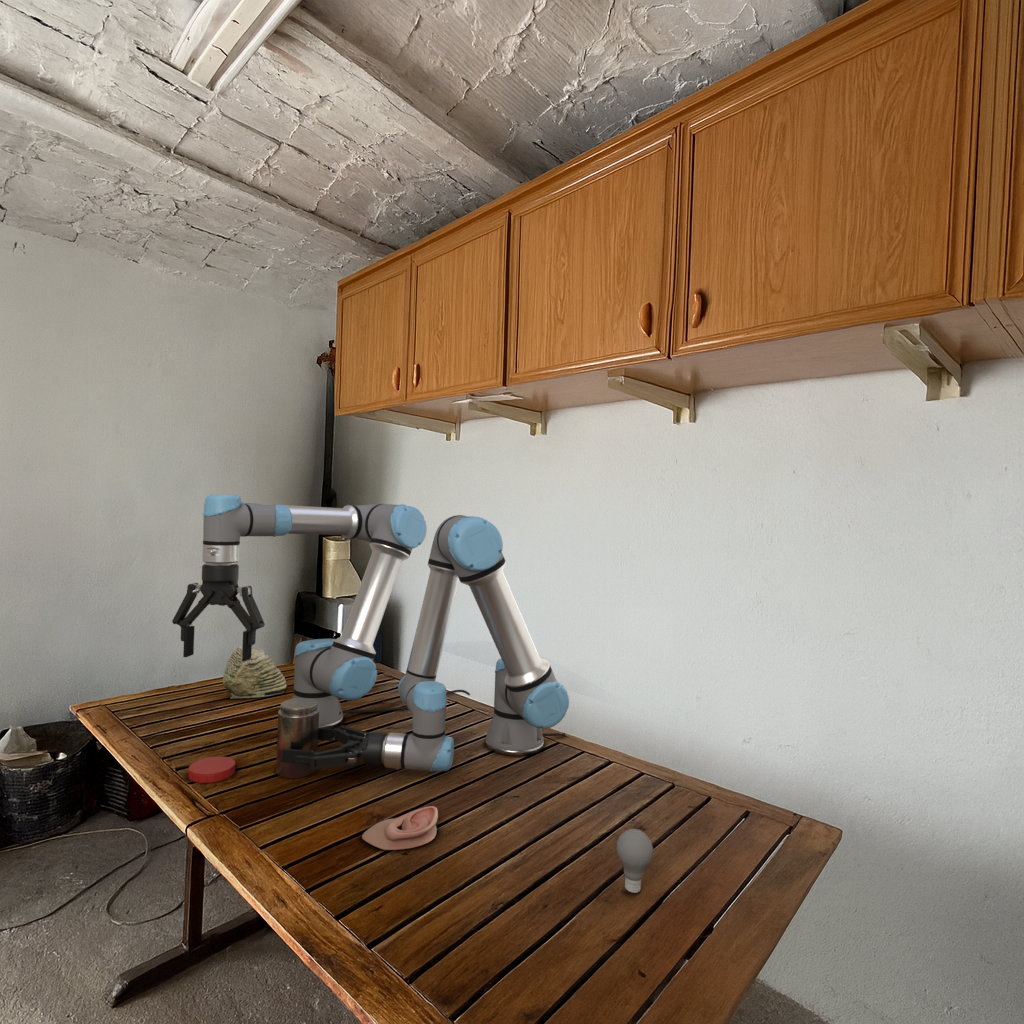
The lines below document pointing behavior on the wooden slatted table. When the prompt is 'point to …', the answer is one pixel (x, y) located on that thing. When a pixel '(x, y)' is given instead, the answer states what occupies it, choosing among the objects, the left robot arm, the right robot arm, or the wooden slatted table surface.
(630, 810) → the wooden slatted table surface
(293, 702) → the jar
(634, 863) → the light bulb
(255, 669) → the fossil
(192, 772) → the lid
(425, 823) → the anatomical model
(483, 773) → the wooden slatted table surface
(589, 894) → the wooden slatted table surface
